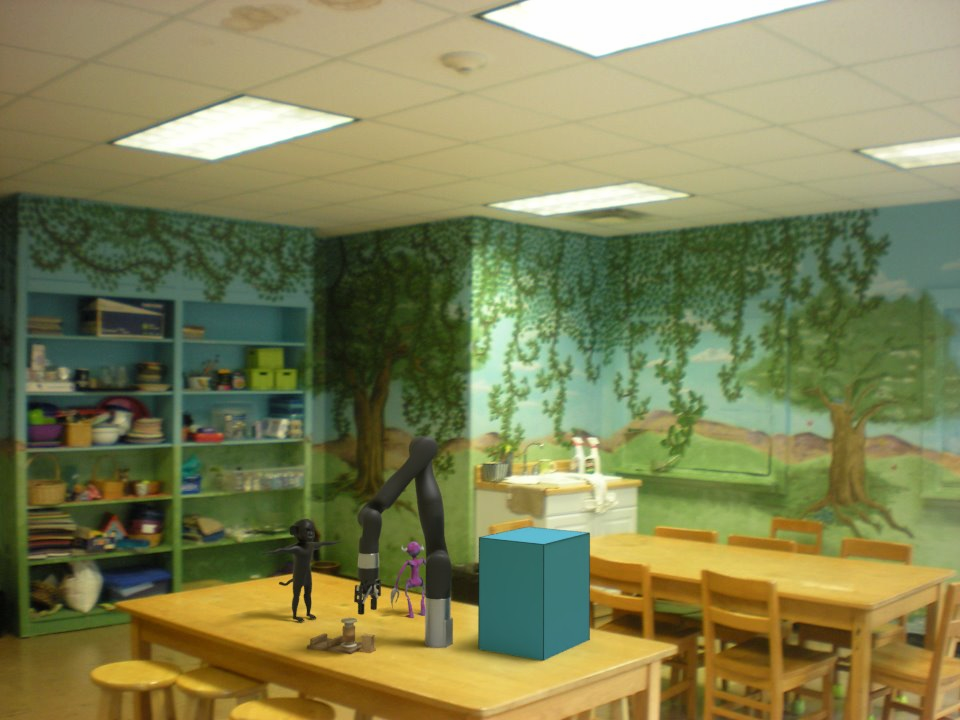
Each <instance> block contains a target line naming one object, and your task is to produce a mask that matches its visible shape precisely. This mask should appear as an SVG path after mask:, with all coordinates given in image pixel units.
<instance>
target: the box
mask: <svg viewBox="0 0 960 720" xmlns="http://www.w3.org/2000/svg"><path fill="white" fill-rule="evenodd" d="M590 562H591V533H590V532H588V531H587V532H586V531H576V530H575V531H574V530H566V529H558V528H557V529H556V528H545V527H534V526H524V527H520V528H516V529H511V530H506V531H502V532H496V533H492V534H488V535H483V536H478V598H477V599H478V605H477V606H478V611H477V612H478V615H477V616H478V617H477V618H478V620H477V621H478V626H477V627H478V628H477V629H478V631H477V633H478V636H477V638H478V639H477V640H478V644H477V649H478V650H480V651H481V650H482V651H487V652H492V653H499V654H502V655H504V654H505V655H509V656H515V657H521V658H525V659H526V658H527V659H531V660H537V661H542V662H543V661H546V660H548V659H550V658H553V657H554V656H557V655H559V654H561V653H564V652H567V651H568V650H570V649H573V648H575V647H577V646H579V645H581V644H584V643H586V642H588V641H591V638H590V636H591V629H590V628H591V619H590V616H591V611H590V610H591V563H590Z"/></svg>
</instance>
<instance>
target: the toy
mask: <svg viewBox="0 0 960 720" xmlns="http://www.w3.org/2000/svg"><path fill="white" fill-rule="evenodd" d="M400 550H401V552H403V553H407V555H408V556H410V557H412V560H409V559H406V560H405V563H404V564H403V565H402V567H401V568H400V570H399V573H398V575H397V576H396V577H397V578H396V580H395V584H394V588H392V589H391V592H390V604H391V606H392V609H394V605H393V603H397V602H398V599H399V597H400V591H399V589H398V588H399V587H398V585H399V581H400V577H401V576H402V573H404V570H405V569H406V567H407V566H410V578H409V577H408V578H407V579H406V585H405V589H404V595H405V597H406V598H407V599H406V600H407V605H408V606H407V608H408V614H406V615H405V617H406V618H408V619H414V618H415V615H414V612H413V604H412V602H411V601H410V600H411V598H410V596H409V595H408V593H407V592H408V589H412V588H417V587H420V588H421V587H422V593H421V600H420V612H417V615H419V616H421V617H422V616H423V617H425V583H424V579H423V577H421V576H419V574H420V573H419V572H420V566H421V565H423V564H424V566H425V567H426V559H424V558H425V557H421V558H420V559H417V556H418V555H420V553H421V552H424V551H425V547H424V545H423V543H421V544H420V543H418V542H417V541H410V542H409V543H407V545H406V547H405V548H404V545H403V544H401V549H400ZM396 594H397V595H396ZM395 597H396V600H395ZM394 601H395V602H394Z"/></svg>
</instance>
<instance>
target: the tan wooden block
mask: <svg viewBox="0 0 960 720" xmlns="http://www.w3.org/2000/svg"><path fill="white" fill-rule="evenodd" d="M360 642H361V649H360V650H359V652H360V653H364V652H365V653H367V654H372V653H374V652H376V650H377V648H376V647H375V634H369V633H363V634H361V635H360ZM365 653H364V654H365Z"/></svg>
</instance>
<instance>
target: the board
mask: <svg viewBox="0 0 960 720" xmlns="http://www.w3.org/2000/svg"><path fill="white" fill-rule="evenodd" d="M340 622H341V623H342V624H344V625H343V626H342V635H339V636H336V637H334V638H329V637H328V633H321V634H319V635H317V636H314V637H311V638H310V641H309V642H310V643H309V644H308V645H306V649H307V650H315V651H324V652H331V653H338V654H339V653H340V654H345V655H346V654H347V655H352V654H354V653H356V652H358V650H359V651H360V649H361V641H356V626H355V623H357V622H358V619H357V618H356V617H355V618H354V617H345V618H341V620H340Z"/></svg>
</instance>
